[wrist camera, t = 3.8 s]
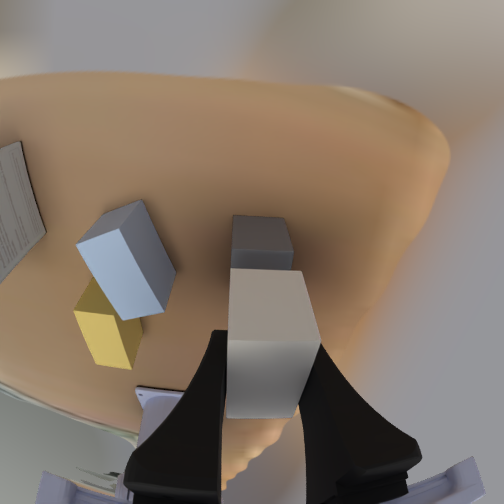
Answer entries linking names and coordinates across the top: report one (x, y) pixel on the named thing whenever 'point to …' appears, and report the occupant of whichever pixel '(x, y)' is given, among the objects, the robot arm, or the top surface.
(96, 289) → the mustard brick
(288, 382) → the light grey brick
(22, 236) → the supplement box
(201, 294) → the top surface
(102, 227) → the blue brick
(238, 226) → the charcoal brick
